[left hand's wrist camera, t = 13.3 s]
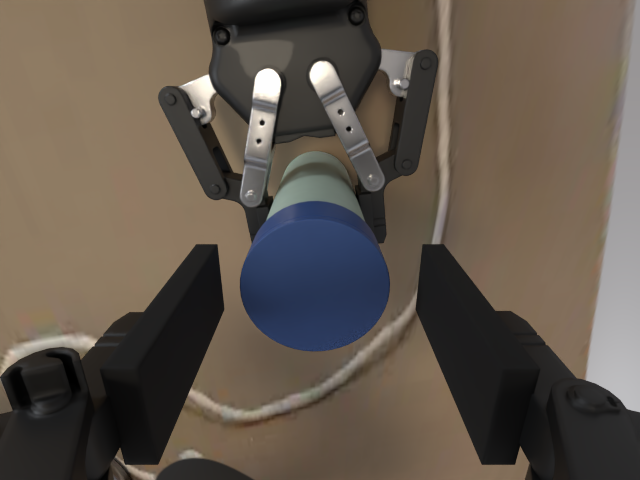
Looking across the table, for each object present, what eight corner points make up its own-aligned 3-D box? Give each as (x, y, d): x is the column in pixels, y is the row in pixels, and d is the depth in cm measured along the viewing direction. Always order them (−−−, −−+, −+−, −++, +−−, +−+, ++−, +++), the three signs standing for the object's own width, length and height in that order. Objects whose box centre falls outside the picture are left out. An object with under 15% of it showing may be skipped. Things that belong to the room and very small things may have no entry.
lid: (243, 308, 16) (233, 341, 14) (257, 189, 15) (247, 207, 12) (365, 326, 17) (371, 360, 15) (394, 212, 15) (406, 232, 13)
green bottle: (278, 211, 29) (241, 330, 15) (287, 145, 27) (254, 209, 13) (342, 221, 29) (366, 348, 15) (355, 157, 27) (397, 232, 13)
